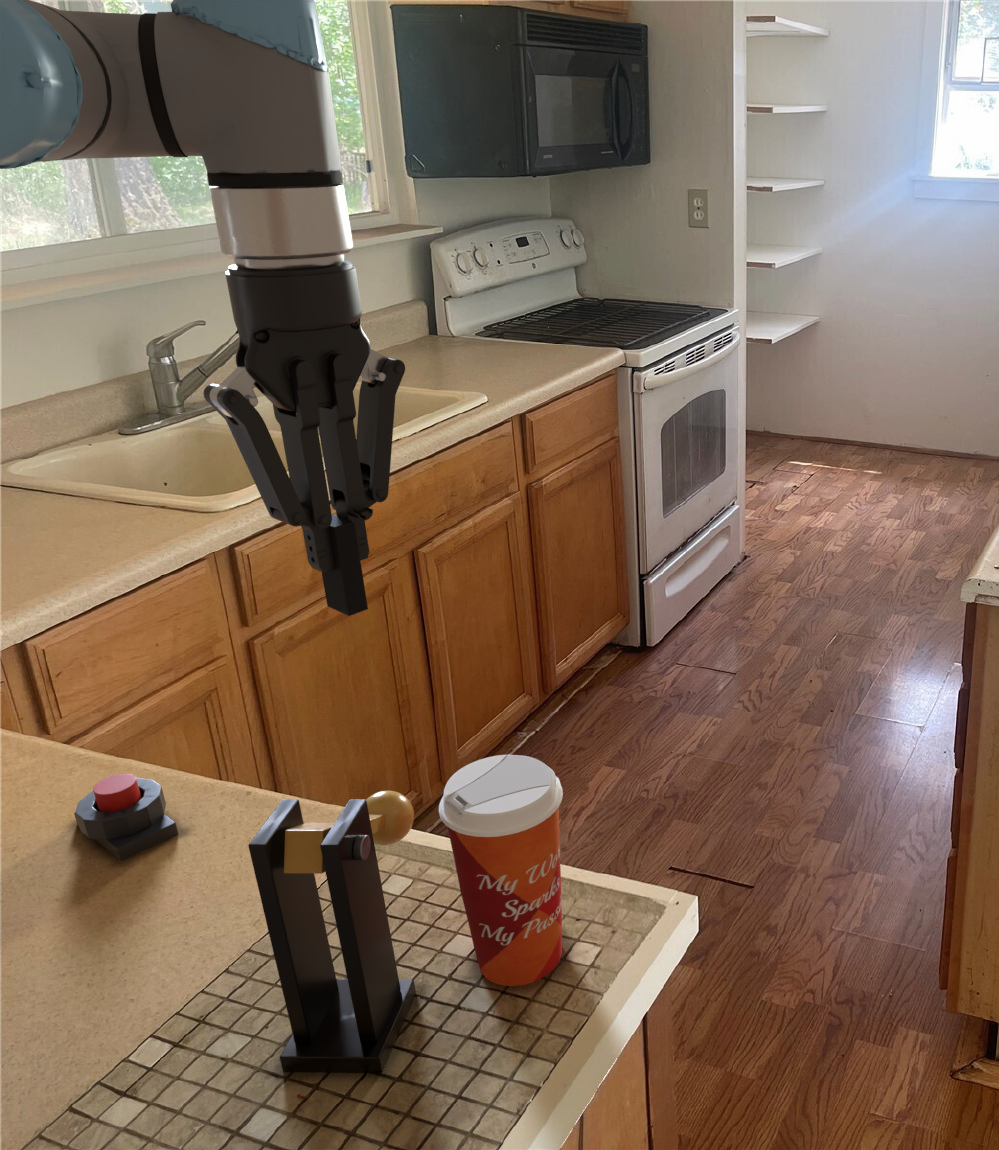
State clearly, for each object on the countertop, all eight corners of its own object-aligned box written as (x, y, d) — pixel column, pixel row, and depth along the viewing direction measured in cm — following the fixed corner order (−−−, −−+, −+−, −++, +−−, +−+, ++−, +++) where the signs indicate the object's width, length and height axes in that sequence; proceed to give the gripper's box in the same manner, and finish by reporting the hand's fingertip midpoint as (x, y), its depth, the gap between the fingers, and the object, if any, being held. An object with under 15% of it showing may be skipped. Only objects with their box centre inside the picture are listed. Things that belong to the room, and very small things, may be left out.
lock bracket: (325, 993, 70) (281, 789, 64) (416, 994, 70) (381, 789, 64) (282, 1073, 64) (229, 856, 58) (382, 1074, 64) (339, 856, 58)
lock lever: (369, 839, 74) (370, 787, 75) (420, 840, 74) (422, 787, 75) (270, 884, 60) (272, 819, 61) (334, 884, 60) (336, 819, 60)
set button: (91, 804, 86) (86, 785, 85) (130, 787, 88) (125, 769, 87) (108, 817, 84) (102, 799, 83) (147, 800, 86) (142, 781, 85)
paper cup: (501, 1018, 68) (476, 834, 63) (441, 957, 73) (413, 782, 68) (602, 956, 73) (587, 781, 68) (539, 903, 78) (520, 736, 73)
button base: (67, 829, 87) (57, 798, 86) (142, 796, 91) (134, 765, 90) (111, 867, 82) (101, 835, 81) (188, 830, 87) (180, 799, 86)
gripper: (350, 247, 73) (396, 567, 82) (153, 265, 64) (229, 624, 73) (416, 254, 69) (457, 591, 78) (215, 274, 60) (288, 655, 69)
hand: (347, 607), depth 75 cm, fingers closed
